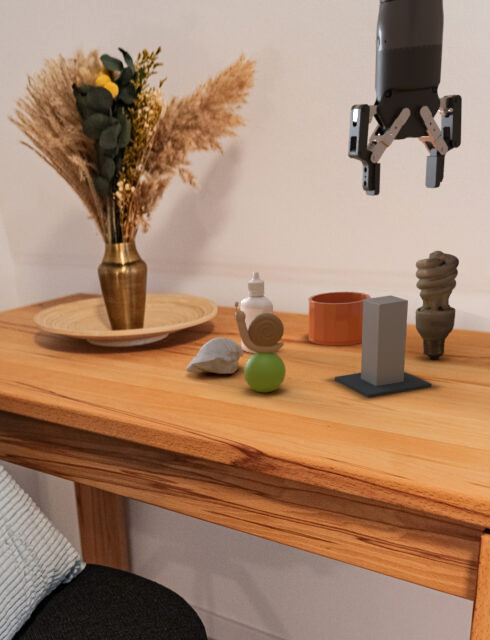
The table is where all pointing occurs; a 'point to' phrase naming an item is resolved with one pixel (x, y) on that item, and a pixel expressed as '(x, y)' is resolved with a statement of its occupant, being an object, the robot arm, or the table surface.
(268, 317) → the snail figurine
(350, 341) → the cup
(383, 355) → the block
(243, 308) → the eye dropper bottle
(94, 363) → the table surface
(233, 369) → the pebble
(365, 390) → the mat
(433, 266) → the light bulb
